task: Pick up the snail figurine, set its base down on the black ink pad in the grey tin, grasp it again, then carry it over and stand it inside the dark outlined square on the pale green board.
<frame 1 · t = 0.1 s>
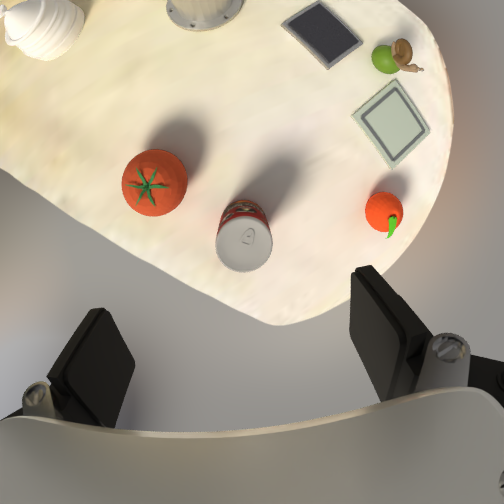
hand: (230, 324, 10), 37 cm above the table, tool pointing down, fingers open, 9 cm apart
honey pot: (59, 32, 30), on the table
tomato: (162, 178, 44), on the table
ink pad: (322, 34, 34), on the table
clementine: (375, 209, 47), on the table
snail figurine: (380, 65, 37), on the table
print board: (392, 123, 41), on the table
canned food: (243, 221, 47), on the table
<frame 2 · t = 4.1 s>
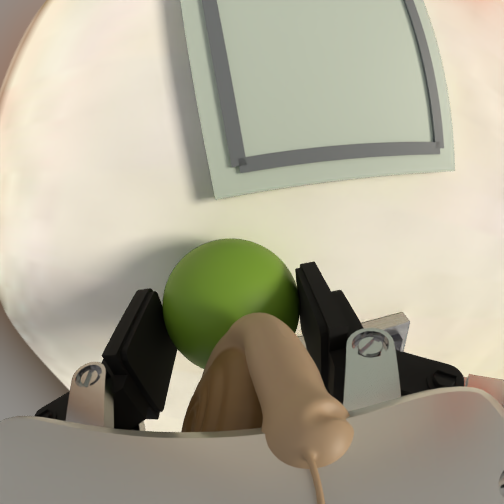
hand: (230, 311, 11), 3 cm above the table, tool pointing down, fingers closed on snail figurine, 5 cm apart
ink pad: (333, 386, 17), on the table
snail figurine: (236, 265, 14), on the table, touching gripper
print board: (329, 50, 9), on the table
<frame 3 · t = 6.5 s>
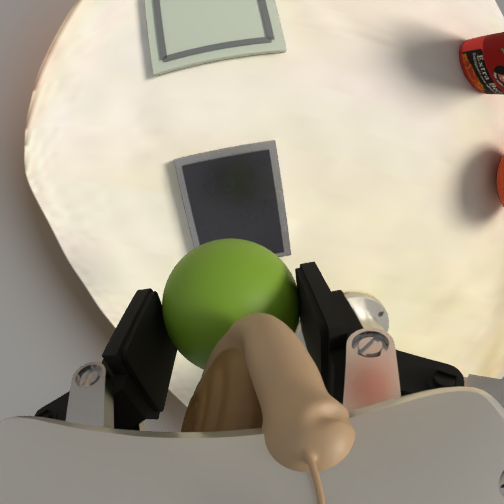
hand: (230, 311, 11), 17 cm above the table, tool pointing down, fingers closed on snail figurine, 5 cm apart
tomato: (501, 175, 25), on the table
ink pad: (235, 205, 26), on the table
snail figurine: (236, 265, 13), point 13 cm above the table, touching gripper
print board: (210, 10, 18), on the table
canned food: (476, 66, 19), on the table
when the fingers open (5 cm above the table, at t = 9.0 s): snail figurine stays where it is, resting on ink pad.
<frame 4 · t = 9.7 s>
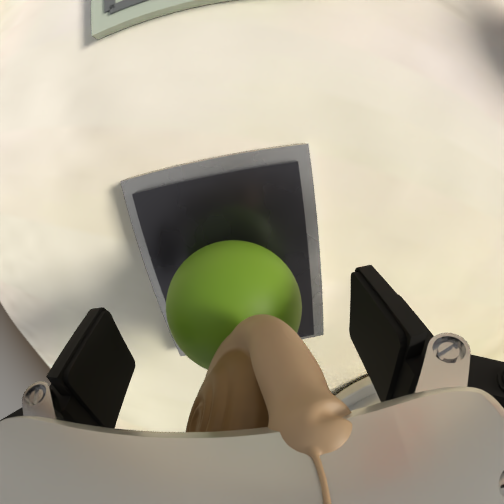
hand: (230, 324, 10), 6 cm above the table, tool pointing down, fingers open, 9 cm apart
ink pad: (232, 260, 15), on the table
snail figurine: (238, 266, 14), point 1 cm above the table, touching ink pad
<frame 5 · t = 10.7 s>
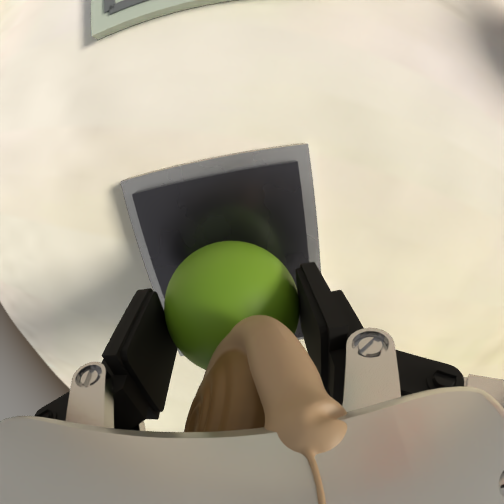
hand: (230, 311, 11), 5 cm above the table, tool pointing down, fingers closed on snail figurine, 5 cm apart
ink pad: (232, 260, 15), on the table
snail figurine: (236, 266, 14), point 1 cm above the table, touching gripper, ink pad
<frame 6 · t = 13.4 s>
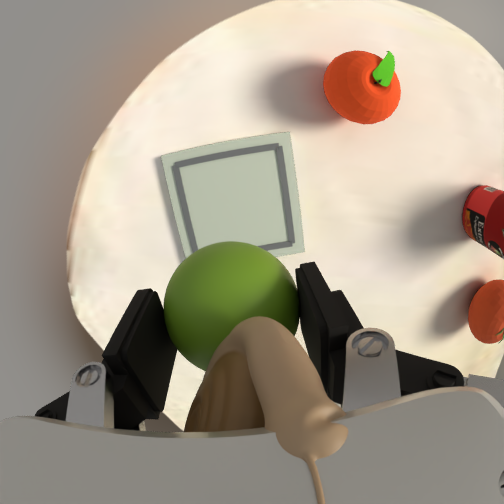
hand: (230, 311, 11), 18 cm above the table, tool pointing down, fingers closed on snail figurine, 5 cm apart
tomato: (477, 296, 34), on the table
clementine: (349, 88, 23), on the table
snail figurine: (236, 267, 14), point 14 cm above the table, touching gripper
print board: (235, 202, 27), on the table
canned food: (477, 210, 28), on the table
when the fingers open (5 cm above the table, at t = 16.2 s): snail figurine stays where it is, resting on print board.
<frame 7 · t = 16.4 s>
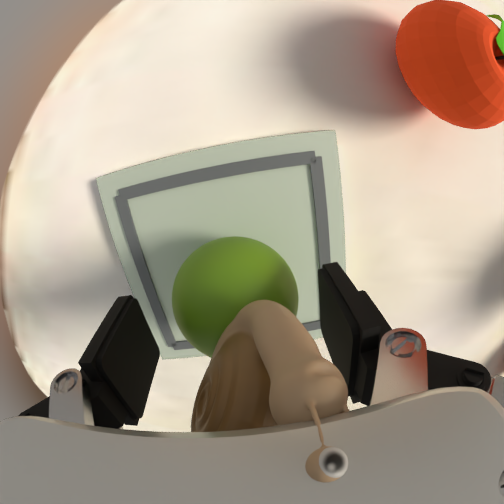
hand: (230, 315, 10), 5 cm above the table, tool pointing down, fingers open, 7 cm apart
clementine: (423, 65, 11), on the table
snail figurine: (238, 261, 14), point 1 cm above the table, touching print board
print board: (232, 259, 15), on the table
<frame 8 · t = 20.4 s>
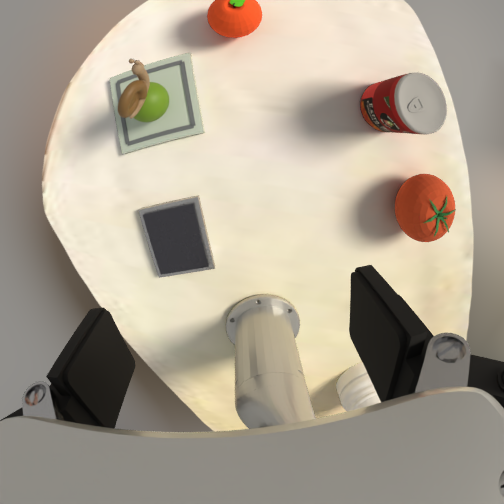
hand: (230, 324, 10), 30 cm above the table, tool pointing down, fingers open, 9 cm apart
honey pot: (361, 378, 56), on the table
tomato: (408, 200, 40), on the table
ink pad: (177, 237, 40), on the table
clementine: (236, 22, 28), on the table
snail figurine: (156, 101, 32), point 1 cm above the table, touching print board
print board: (155, 102, 32), on the table
canned food: (381, 107, 34), on the table
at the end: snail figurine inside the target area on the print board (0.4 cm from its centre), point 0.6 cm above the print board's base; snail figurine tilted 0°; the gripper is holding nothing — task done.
